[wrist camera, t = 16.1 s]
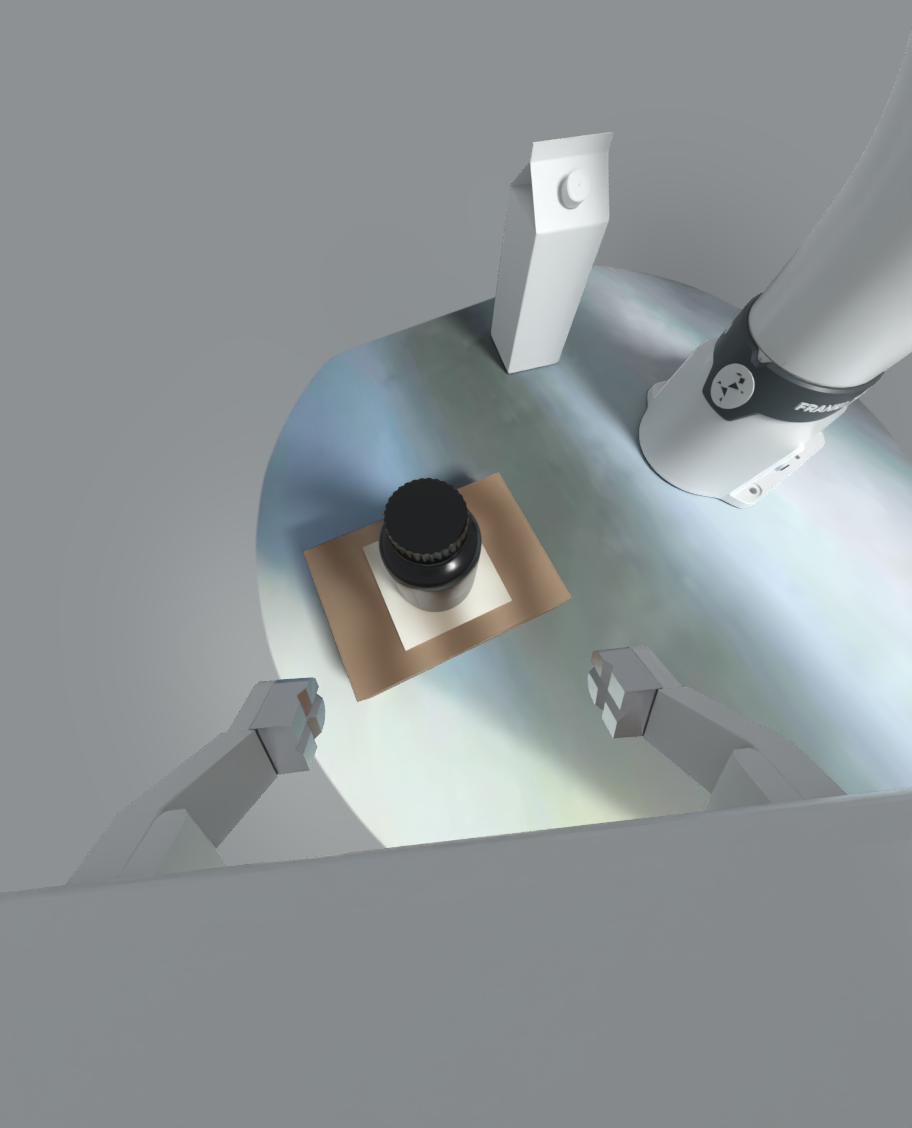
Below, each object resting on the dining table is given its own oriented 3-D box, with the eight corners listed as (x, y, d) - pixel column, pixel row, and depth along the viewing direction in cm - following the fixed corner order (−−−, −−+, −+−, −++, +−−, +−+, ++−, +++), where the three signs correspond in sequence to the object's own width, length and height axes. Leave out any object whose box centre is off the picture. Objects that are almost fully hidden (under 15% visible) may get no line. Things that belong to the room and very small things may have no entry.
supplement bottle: (460, 531, 32) (469, 449, 20) (484, 601, 30) (507, 554, 18) (388, 550, 31) (354, 477, 19) (406, 623, 29) (381, 590, 17)
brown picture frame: (492, 497, 39) (499, 470, 34) (554, 608, 35) (572, 596, 30) (322, 567, 36) (301, 550, 31) (370, 697, 32) (356, 702, 27)
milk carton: (490, 335, 46) (517, 119, 28) (538, 325, 47) (595, 109, 29) (507, 375, 44) (549, 169, 26) (558, 364, 45) (632, 156, 27)
